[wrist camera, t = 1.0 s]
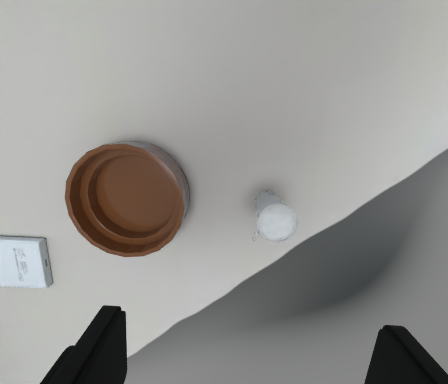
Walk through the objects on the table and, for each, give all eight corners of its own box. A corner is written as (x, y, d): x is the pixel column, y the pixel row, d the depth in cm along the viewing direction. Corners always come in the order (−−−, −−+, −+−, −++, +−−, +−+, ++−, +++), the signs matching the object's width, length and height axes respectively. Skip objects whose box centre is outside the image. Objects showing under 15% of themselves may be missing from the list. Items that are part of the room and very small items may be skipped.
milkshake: (240, 194, 36) (245, 221, 26) (276, 181, 35) (295, 203, 25) (251, 222, 37) (260, 257, 27) (286, 210, 36) (307, 241, 26)
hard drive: (-35, 233, 38) (45, 237, 38) (-24, 279, 40) (53, 283, 40) (-47, 238, 36) (37, 242, 36) (-34, 286, 38) (45, 290, 38)
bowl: (77, 144, 34) (52, 148, 29) (183, 137, 34) (176, 139, 29) (98, 242, 38) (79, 259, 33) (194, 237, 37) (189, 254, 33)
